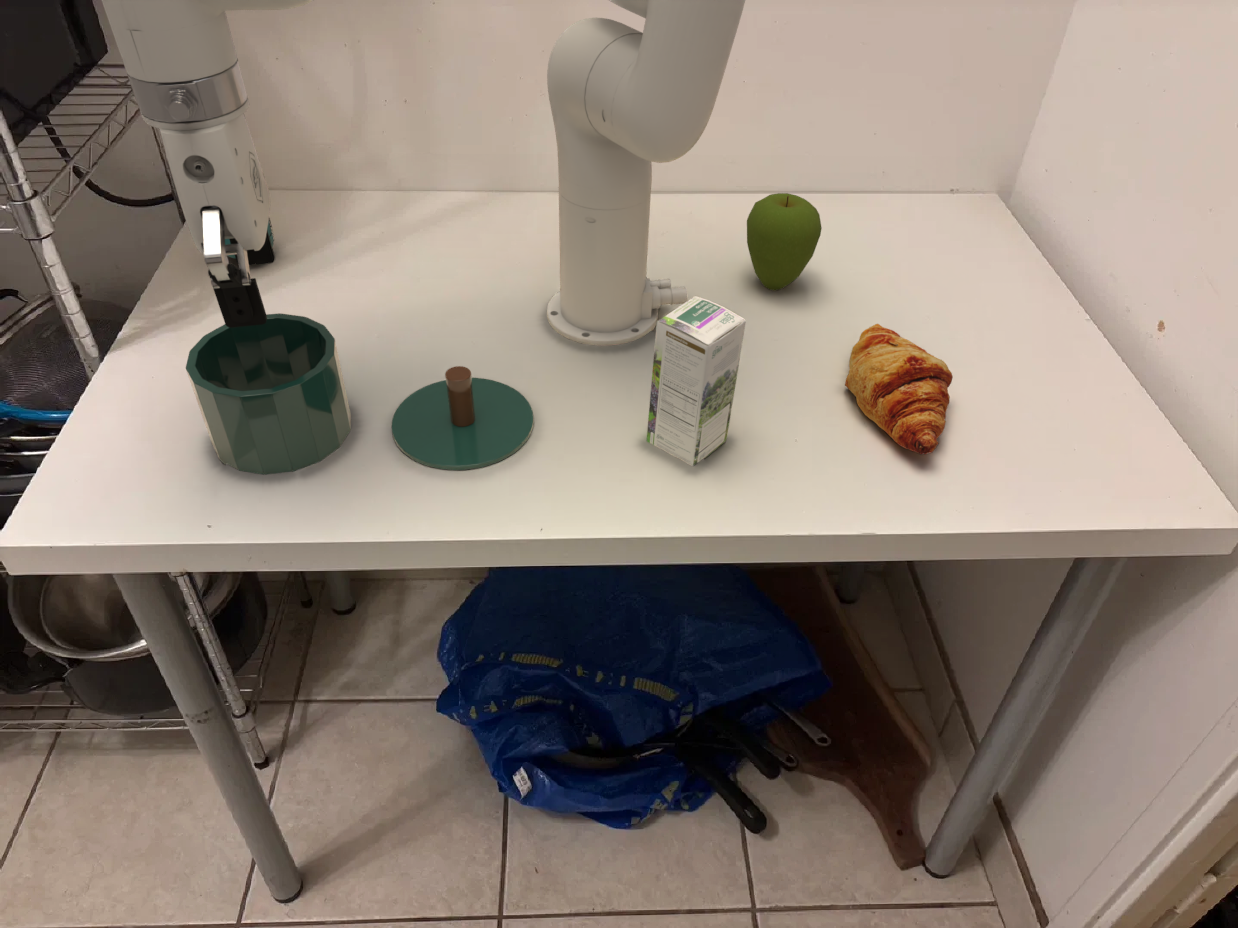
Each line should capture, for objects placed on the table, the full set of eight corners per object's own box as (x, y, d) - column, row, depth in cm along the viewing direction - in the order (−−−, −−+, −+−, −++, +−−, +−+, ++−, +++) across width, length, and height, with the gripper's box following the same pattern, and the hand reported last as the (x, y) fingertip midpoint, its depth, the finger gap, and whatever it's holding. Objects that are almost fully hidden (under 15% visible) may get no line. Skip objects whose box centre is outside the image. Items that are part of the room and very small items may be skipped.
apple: (823, 294, 111) (842, 205, 103) (763, 309, 108) (778, 218, 100) (784, 260, 117) (798, 173, 109) (726, 273, 114) (736, 185, 106)
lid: (524, 379, 97) (521, 326, 92) (542, 466, 87) (541, 410, 82) (391, 392, 94) (382, 338, 90) (394, 483, 85) (384, 427, 80)
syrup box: (680, 417, 93) (692, 291, 83) (729, 442, 90) (747, 315, 80) (645, 445, 90) (653, 317, 80) (694, 472, 87) (709, 343, 77)
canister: (352, 387, 95) (335, 308, 89) (351, 469, 86) (332, 387, 79) (222, 400, 93) (196, 319, 86) (207, 485, 84) (176, 402, 77)
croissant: (837, 367, 106) (815, 314, 101) (924, 331, 103) (905, 275, 98) (889, 493, 90) (865, 437, 85) (992, 454, 87) (974, 394, 82)
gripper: (232, 135, 62) (292, 345, 74) (253, 45, 74) (302, 238, 86) (113, 144, 61) (193, 356, 72) (155, 52, 73) (217, 245, 85)
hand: (252, 292), depth 79 cm, fingers open, 9 cm apart
